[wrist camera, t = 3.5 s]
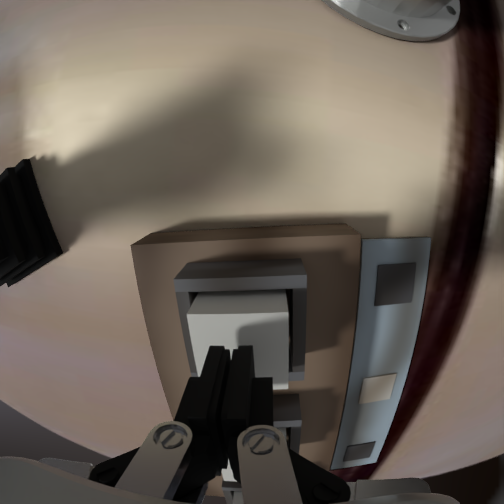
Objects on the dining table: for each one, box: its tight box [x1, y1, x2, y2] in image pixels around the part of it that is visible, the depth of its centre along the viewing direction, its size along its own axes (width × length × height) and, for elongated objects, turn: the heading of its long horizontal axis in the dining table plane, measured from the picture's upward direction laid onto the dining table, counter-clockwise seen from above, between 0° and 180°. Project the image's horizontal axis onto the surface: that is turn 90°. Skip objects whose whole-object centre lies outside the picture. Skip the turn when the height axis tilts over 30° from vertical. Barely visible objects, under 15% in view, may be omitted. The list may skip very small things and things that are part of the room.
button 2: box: [187, 289, 289, 390], centre depth 13 cm, size 4×4×2 cm
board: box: [131, 224, 431, 504], centre depth 18 cm, size 18×26×5 cm
